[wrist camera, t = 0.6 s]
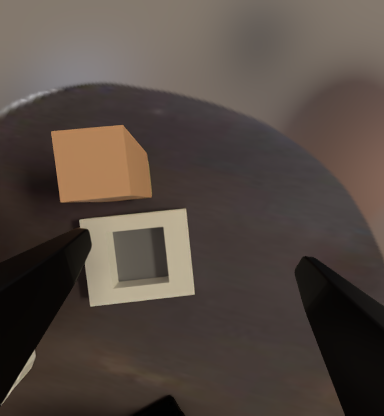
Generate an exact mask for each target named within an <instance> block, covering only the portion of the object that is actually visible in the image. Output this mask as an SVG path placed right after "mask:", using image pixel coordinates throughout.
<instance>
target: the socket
mask: <svg viewBox="0 0 384 416" xmlns="http://www.w3.org/2000/svg"><path fill="white" fill-rule="evenodd" d="M79 222H80V228H85V229H88V230H89V232H90V237H91V242H92V248H91V251H90V253H89V255H88V257H87V259H86V261H85V268H86V276H87V284H88V292H89V300H90V307H91V306H99V305H108V304H116V303H125V302H134V301H142V300H151V299H160V298H168V297H177V296H186V295H194V294H195V292H194V281H193V272H192V262H191V253H190V243H189V233H188V224H187V214H186V208H182V209H172V210H163V211H153V212H143V213H134V214H124V215H114V216H105V217H95V218H87V219H81V220H79Z"/></svg>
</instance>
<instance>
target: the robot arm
mask: <svg viewBox="0 0 384 416" xmlns="http://www.w3.org/2000/svg"><path fill="white" fill-rule="evenodd" d="M91 248H92V242H91V237H90V232H89V230H88V229H85V228H75V229H73V230H71V231H69V232H66V233H64V234H62V235H60V236H58V237H55V238H53V239H51V240H49V241H47V242H45V243H42V244H40V245H38V246H36V247H34V248H31V249H29V250H27V251H25V252H23V253H20V254H18V255H16V256H14V257H12V258H9V259H7V260H5V261H3V262H1V263H0V406H1V404H2V403H3V401H4V399H5V398H6V396H7V395H8V393H9V391H10V390H11V388H12V386H13V385H14V383H15V381H16V380H17V378H18V376H19V375H20V373H21V372H22V370H23V368H24V367H25V365H26V363H27V362H28V360H29V358H30V357H31V355H32V353H33V352H34V350H35V348H36V347H37V345H38V344H39V342H40V340H41V339H42V337H43V335H44V334H45V332H46V330H47V329H48V327H49V325H50V324H51V322H52V320H53V319H54V317H55V316H56V314H57V312H58V311H59V309H60V307H61V306H62V304H63V302H64V301H65V299H66V297H67V296H68V294H69V293H70V291H71V289H72V287H73V286H74V284H75V282H76V280H77V278H78V276H79V274H80V272H81V270H82V268H83V265H84V263H85V261H86V259H87V257H88V255H89V253H90V251H91ZM295 277H296V281H297V284H298V288H299V292H300V295H301V299H302V302H303V306H304V309H305V312H306V315H307V318H308V320H309V323H310V325H311V328H312V331H313V333H314V336H315V338H316V341H317V344H318V346H319V349H320V351H321V354H322V357H323V359H324V362H325V364H326V367H327V370H328V372H329V375H330V377H331V380H332V383H333V385H334V388H335V390H336V393H337V396H338V398H339V401H340V403H341V406H342V409H343V411H344V414H345V416H384V306H383V305H381V304H380V303H378V302H377V301H376V300H374V299H373V298H371V297H370V296H369V295H367V294H366V293H364V292H363V291H361V290H360V289H359V288H357V287H356V286H354V285H353V284H352V283H350V282H349V281H347V280H346V279H344V278H343V277H342V276H340V275H339V274H337V273H336V272H335V271H333V270H332V269H330V268H329V267H327V266H326V265H325V264H323V263H322V262H320V261H319V260H318V259H316V258H314V257H308V256H304V257H302V259H301V260H300V262H299V264H298V265H297V267H296V268H295ZM135 416H185V415H184V413H183V412H182V411H181V409H180V408H179V406H178V404H177V402H176V401H175V399H174V398H173V397H168V398H166V399H164V400H163V401H161V402H159V403H157V404H155V405H153V406H151V407H150V408H148V409H146V410H144V411H142V412H140V413H138V414H136V415H135Z"/></svg>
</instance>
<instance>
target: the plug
mask: <svg viewBox="0 0 384 416" xmlns="http://www.w3.org/2000/svg"><path fill="white" fill-rule="evenodd" d="M51 134H52V141H53V149H54V156H55V164H56V171H57V179H58V186H59V194H60V201H61V202H111V201H121V200H131V199H141V198H151V197H152V190H151V181H150V172H149V163H148V159H147V153H146V152H145V151H144V150H143V148H142V147H141V146H140V145H139V144H138V142H137V141H136V140H135V139H134V138H133V137H132V135H131V134H130V133H129V132H128V131H127V129H126V128H125V127H124V126H123V125H117V126H106V127H95V128H84V129H73V130H62V131H52V132H51Z"/></svg>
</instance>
